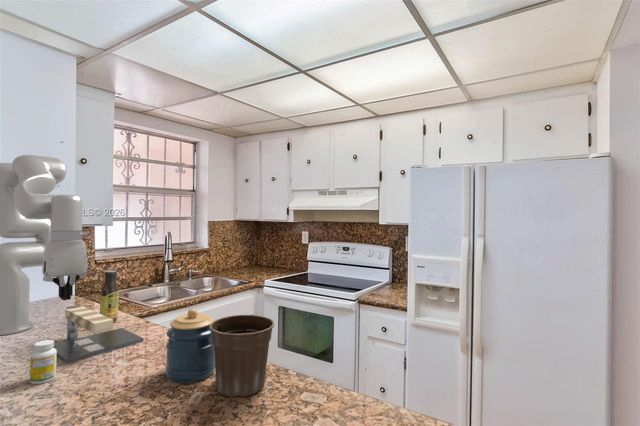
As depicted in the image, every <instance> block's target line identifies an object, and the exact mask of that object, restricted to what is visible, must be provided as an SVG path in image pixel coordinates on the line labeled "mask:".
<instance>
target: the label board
mask: <svg viewBox="0 0 640 426" xmlns="http://www.w3.org/2000/svg"><path fill="white" fill-rule="evenodd" d="M66 320H67V322H66V324H67V325H66V326H67V327H66V330H67V331H66V341H62V342H61V341H60V342H58V343H54V347H53V348H55V349H56V350H57V358H58V359H60V360H61V361H62V362H63V363H65V364H66V365H67V364H71V363H74V362H78V361H81V360H85V359H88V358H91V357H95V356H99V355H102V354H106V353H109V352H112V351H116V350H120V349H122V348H126V347H130V346H134V345H137V344H140V343H144V339H145V338H144V337H142V336H139V335H138V334H136V333H133V332H131V331H129V330H127V329H125V328H123V327H120V328H115V329H113V330H109V331H105V332H101V333H96V334H94V333H93V334H92V335H91V334H90V335H87V336H81V337H78V336H79V325H77V324H75V323H73V322H71V321H70V320H68V319H66Z"/></svg>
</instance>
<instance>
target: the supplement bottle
mask: <svg viewBox="0 0 640 426" xmlns="http://www.w3.org/2000/svg"><path fill="white" fill-rule="evenodd" d="M54 344H55V341H54V340H52V339H45V340H41V341H37V342H35V343H34V345H33V349H34V351H33V352H32V353H31V354H30V367H29V370H30V371H29V373H30V374H29V382H30V383H31V384H32V385H33V384H34V385H40V384H46V383H48V382H51V381H53V380H54V379H55V378H56V377H57V360H58V359H57V358H58V357H57V350H56V349H55V348H53V347H54Z"/></svg>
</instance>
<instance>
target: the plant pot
mask: <svg viewBox="0 0 640 426" xmlns="http://www.w3.org/2000/svg"><path fill="white" fill-rule="evenodd" d="M274 327H275V321H274V320H273V319H271V318H270V317H267V316H262V315H257V314H235V315H230V316H229V315H228V316H224V317H220V318H217V319H215V320H214V321H213V322H212V323H211V324H210V329H211V331H212V341H213V344H214V352H215V370H214V371H215V384H216V385H215V387H216V388H215V389H216V390H217V392H218V393H219V394H222V395H223V396H225V397H227V396H228V397H232V398H235V397H236V396H241V397H247V396H250V395H251V394H252V395H254V394H256V393H258V392H260V391H261V390H262V389H264V386H265V382H266V373H267V364H268V363H267V362H268V355H269V347H270V341H271V339H272V331H273V328H274Z"/></svg>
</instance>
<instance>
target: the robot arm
mask: <svg viewBox="0 0 640 426" xmlns="http://www.w3.org/2000/svg"><path fill="white" fill-rule="evenodd" d="M66 176H67V167H66V164H65V163H64V161H63V160H61V159H59V158H56V157H50V156H43V155H34V154H23V155H18V156H17V157H16V158H14V159H13V160H12V162H0V237H1V238H4V239H30V238H31V239H32V238H34V239H35V241H11V242H4V243H0V336H5V335H13V334H17V333H21V332H25V330H26V331H29V330H31V329H32V328H33V327H34V326H35V323H34V322H33V321H31V320H30V290H31V289H30V288H31V287H30V285H31V284H30V282H31V281H30V277H29V276H28V275H27V274H26V273H25V272H24V271H22V269H24V268H25V269H26V268H32V267H34V268H35V267H42V268H41V269H42V275H43V277H42V281H44V282H48V283H50V282H51V283H54V284H55V285H56V286H58V298H60V300H61V301H67V300H71V299H72V296H73V294H74V293H73V288H74V287H73V286H74V285H75V283H76V282H78V281H79V279H82V278H85V277H87V276H88V272H87V271H88V253H87V247H86V243H85V240H83V238H84V237H85V238H86V237H88V233H87V232H86V231H85V232H84V231H83V199H82V197H81V195H75V194H51V192H52V191H54V190H55V188H56V185H58V184H60V183H62V182H63V181H64V179H65V178H66ZM65 276H67V278H66V281H65ZM30 328H31V329H30ZM28 329H29V330H28Z"/></svg>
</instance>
